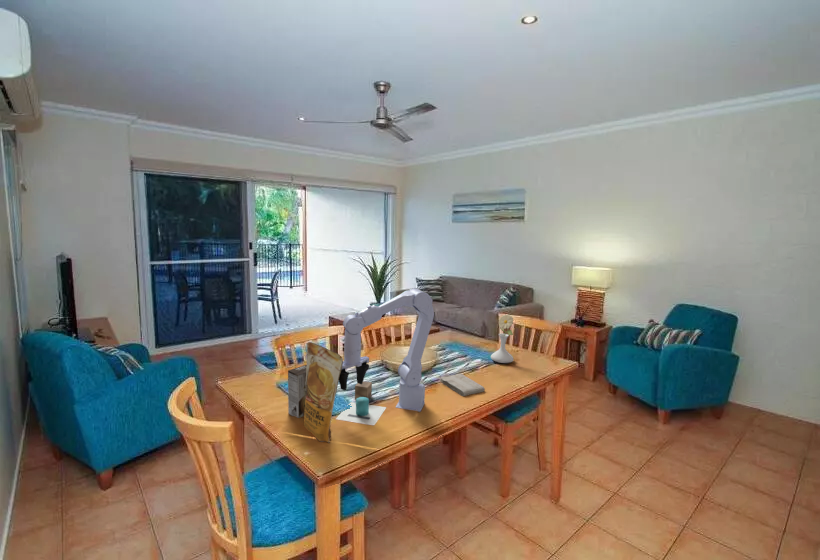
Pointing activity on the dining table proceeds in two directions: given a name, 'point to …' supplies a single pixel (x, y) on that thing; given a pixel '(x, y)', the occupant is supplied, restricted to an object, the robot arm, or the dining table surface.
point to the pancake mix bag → (321, 389)
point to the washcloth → (462, 384)
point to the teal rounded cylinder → (362, 406)
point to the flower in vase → (503, 341)
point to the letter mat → (368, 419)
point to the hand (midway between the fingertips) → (351, 386)
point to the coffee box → (297, 391)
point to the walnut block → (363, 390)
